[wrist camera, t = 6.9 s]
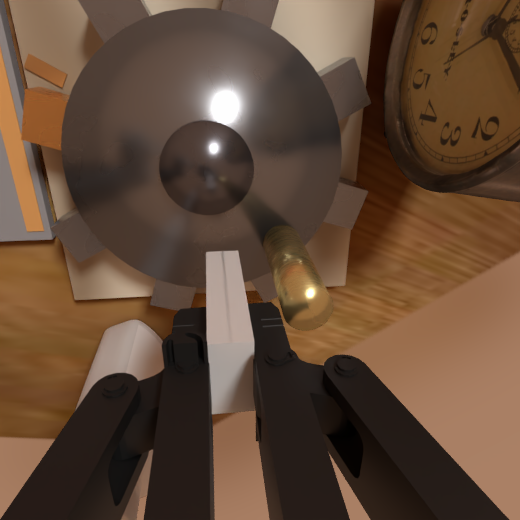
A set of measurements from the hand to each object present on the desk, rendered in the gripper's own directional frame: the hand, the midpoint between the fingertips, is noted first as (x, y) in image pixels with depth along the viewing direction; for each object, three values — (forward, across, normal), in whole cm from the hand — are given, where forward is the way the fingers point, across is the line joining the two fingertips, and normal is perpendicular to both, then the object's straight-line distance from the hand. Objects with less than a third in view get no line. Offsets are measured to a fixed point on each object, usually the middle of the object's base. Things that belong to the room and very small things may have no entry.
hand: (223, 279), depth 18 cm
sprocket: (+4, 0, +4) cm, 6 cm away
